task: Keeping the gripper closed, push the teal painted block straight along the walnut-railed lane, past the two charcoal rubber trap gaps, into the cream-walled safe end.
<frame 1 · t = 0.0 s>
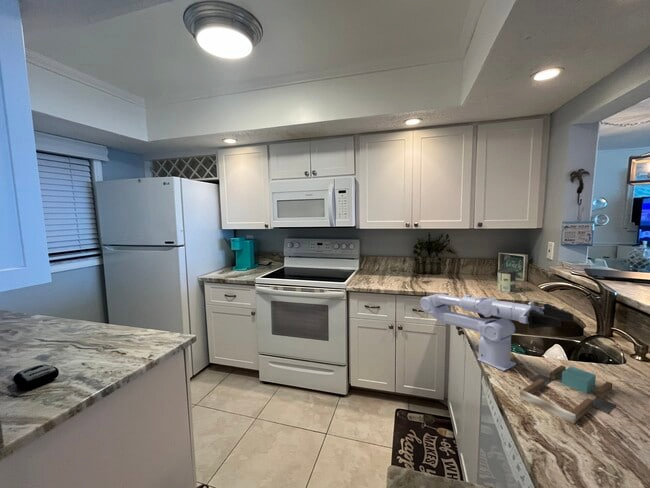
hand: (566, 320, 82), 22 cm above the worktop, tool horizontal, fingers open, 7 cm apart
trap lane: (567, 392, 83), on the worktop
teal block: (578, 385, 86), on the worktop
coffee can: (506, 291, 188), on the worktop
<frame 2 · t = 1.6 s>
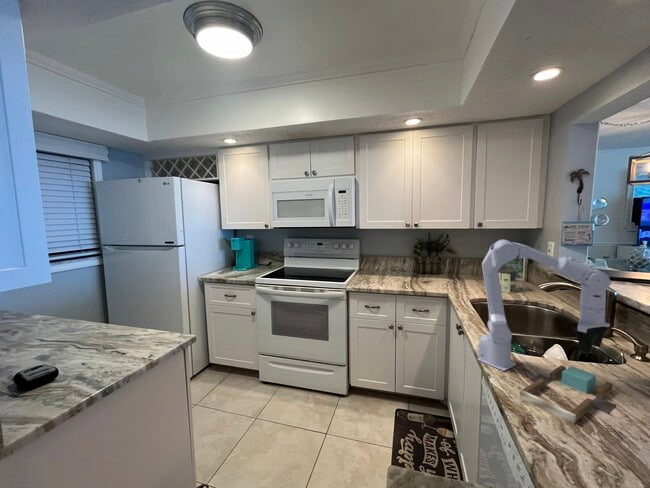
hand: (590, 348, 89), 9 cm above the worktop, tool pointing down, fingers open, 7 cm apart
nothing on the worktop moved.
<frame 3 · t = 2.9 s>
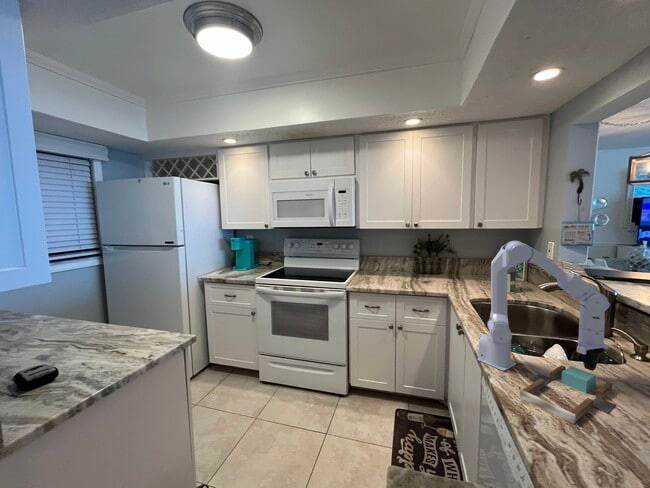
hand: (589, 369, 90), 3 cm above the worktop, tool pointing down, fingers closed
nothing on the worktop moved.
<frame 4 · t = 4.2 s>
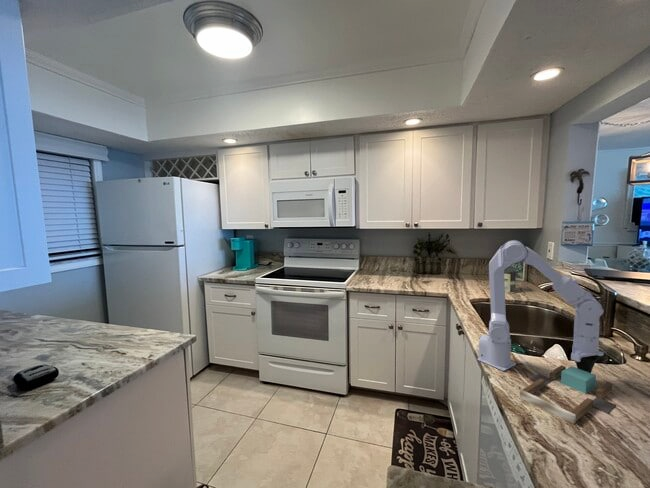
hand: (584, 376, 88), 1 cm above the worktop, tool pointing down, fingers closed
teal block: (577, 385, 86), on the worktop, touching gripper
everything else where it was.
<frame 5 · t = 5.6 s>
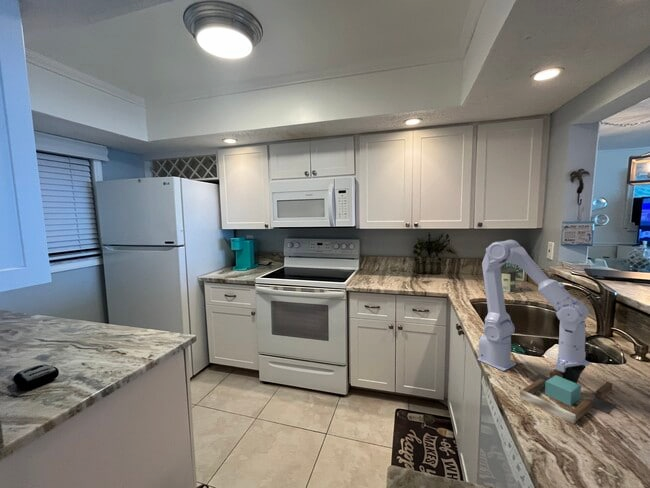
hand: (569, 386, 83), 1 cm above the worktop, tool pointing down, fingers closed
teal block: (562, 396, 81), on the worktop, touching gripper
everything else where it was.
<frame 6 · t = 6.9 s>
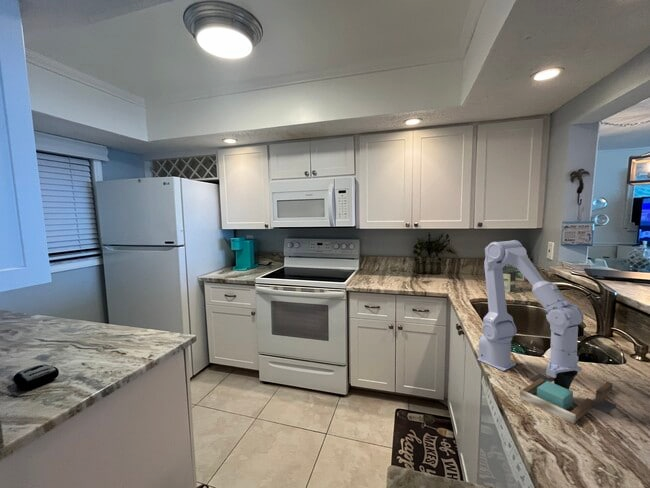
hand: (561, 392, 81), 1 cm above the worktop, tool pointing down, fingers closed
teal block: (554, 402, 79), on the worktop
everything else where it was.
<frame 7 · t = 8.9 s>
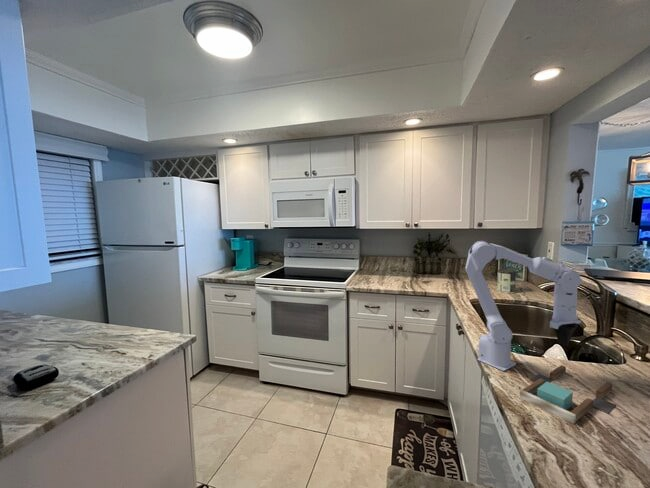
hand: (563, 344, 93), 9 cm above the worktop, tool pointing down, fingers closed
nothing on the worktop moved.
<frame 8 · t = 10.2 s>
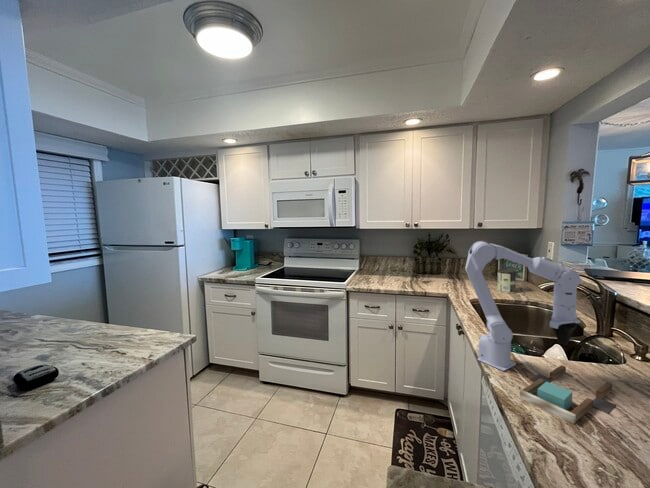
hand: (562, 344, 93), 9 cm above the worktop, tool pointing down, fingers closed
nothing on the worktop moved.
at the end: teal block inside the target area (0.4 cm from its centre), on the worktop; teal block tilted 0°; the gripper is holding nothing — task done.
